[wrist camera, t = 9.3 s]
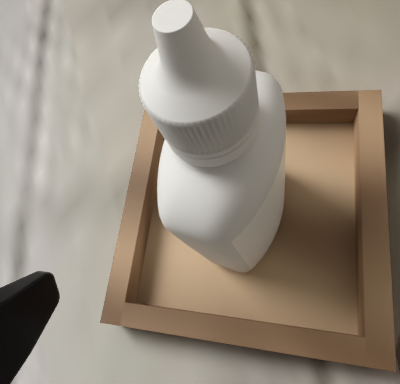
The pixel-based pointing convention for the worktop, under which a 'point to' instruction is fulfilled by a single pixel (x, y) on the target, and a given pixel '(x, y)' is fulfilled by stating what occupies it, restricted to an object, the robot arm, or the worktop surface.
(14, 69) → the worktop surface
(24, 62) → the worktop surface
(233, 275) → the shallow wooden tray
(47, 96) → the worktop surface
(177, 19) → the eye dropper bottle
